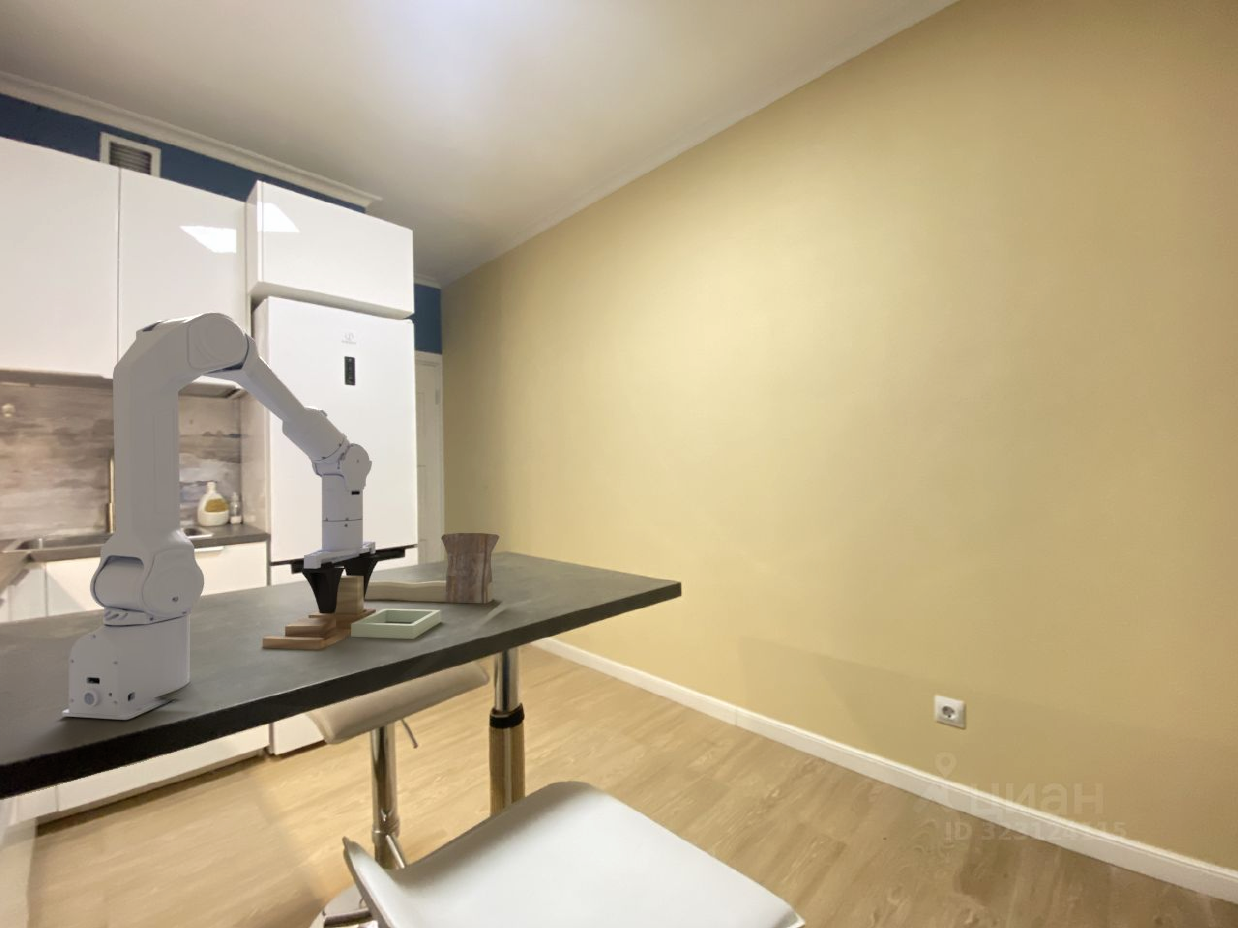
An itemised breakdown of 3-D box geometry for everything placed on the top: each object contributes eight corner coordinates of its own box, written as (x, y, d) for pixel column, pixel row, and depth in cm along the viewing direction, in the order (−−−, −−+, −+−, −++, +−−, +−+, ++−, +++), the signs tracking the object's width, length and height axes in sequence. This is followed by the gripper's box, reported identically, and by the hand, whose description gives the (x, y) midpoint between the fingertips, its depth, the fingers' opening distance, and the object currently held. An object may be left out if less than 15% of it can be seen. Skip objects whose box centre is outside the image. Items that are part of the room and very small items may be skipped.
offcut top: (321, 634, 74) (321, 625, 74) (285, 634, 74) (285, 626, 74) (336, 626, 78) (336, 617, 78) (302, 626, 78) (302, 618, 78)
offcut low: (317, 643, 74) (317, 635, 74) (284, 642, 74) (284, 634, 74) (336, 634, 78) (336, 626, 78) (305, 633, 78) (305, 625, 78)
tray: (413, 645, 76) (413, 625, 76) (351, 643, 77) (351, 623, 77) (441, 627, 84) (441, 609, 84) (384, 625, 86) (384, 608, 86)
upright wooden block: (357, 626, 82) (357, 577, 82) (321, 625, 83) (321, 577, 83) (363, 623, 83) (363, 575, 84) (328, 622, 84) (328, 575, 84)
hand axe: (505, 604, 99) (502, 530, 99) (499, 609, 96) (496, 532, 96) (331, 607, 103) (328, 536, 103) (319, 612, 100) (316, 538, 100)
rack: (321, 656, 72) (321, 634, 72) (260, 654, 73) (260, 632, 73) (380, 626, 85) (380, 607, 85) (329, 624, 87) (329, 606, 87)
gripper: (335, 524, 76) (335, 620, 75) (392, 515, 90) (392, 596, 90) (290, 524, 76) (290, 618, 76) (353, 515, 91) (353, 595, 91)
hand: (342, 606), depth 83 cm, fingers open, 7 cm apart
